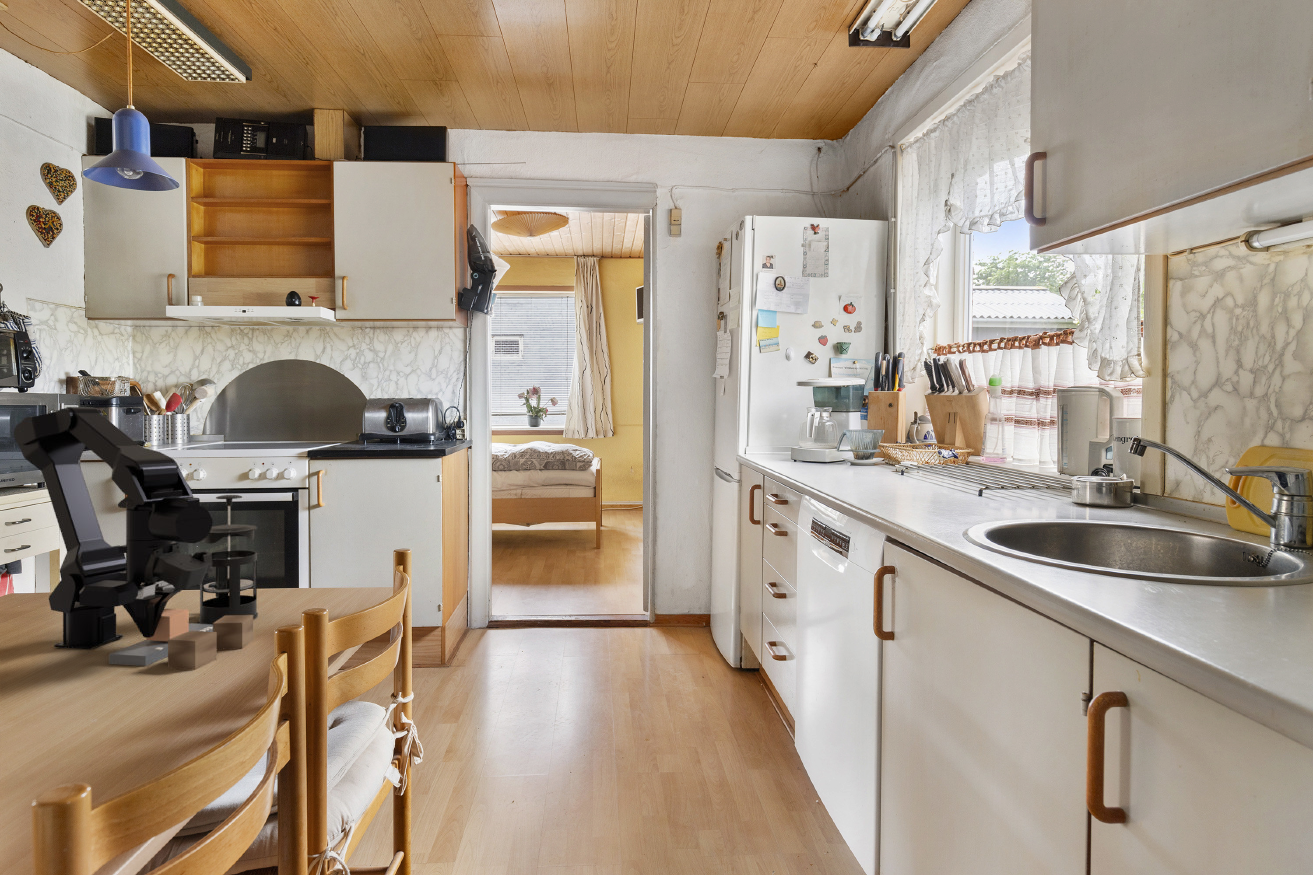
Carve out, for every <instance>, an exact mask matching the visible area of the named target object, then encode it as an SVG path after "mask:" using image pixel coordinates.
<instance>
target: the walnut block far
mask: <svg viewBox="0 0 1313 875" xmlns="http://www.w3.org/2000/svg"><path fill="white" fill-rule="evenodd" d="M213 632H217V651H218V650H243V649H244V648H245V647H247V646H248V645H250V643H252V642H253V641H254V620H253V615H229V616H223V617H222V618H220V619H219V620H217V621H216V622H214V623H213Z"/></svg>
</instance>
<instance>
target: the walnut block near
mask: <svg viewBox="0 0 1313 875" xmlns="http://www.w3.org/2000/svg"><path fill="white" fill-rule="evenodd" d="M217 651H218V650H217V632H204V631H188V632H186V633H183V634H181V635H178V636H176V637H173V638H171V639H168V657H167V669H177V670H179V669H180V670H192V671H195V670H196V671H197V670H198V669H200V668H202V667H204V666H206V665H208V664H211V663H212V662H215V661H217V653H218V652H217Z"/></svg>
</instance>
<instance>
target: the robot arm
mask: <svg viewBox="0 0 1313 875" xmlns="http://www.w3.org/2000/svg"><path fill="white" fill-rule="evenodd" d="M13 437H14V441H15V442H16V444H17V445H18V448H19V449H20V452H21V454H22V456H23V458H24V459H25V460H26V461H27V462H29V463H30V464H32V465H33V466H34V467H35V468H37V469H38V470H39V471H41V474H42V477H43V479H44V482H45V486H46V490H47V492H48V496H49V498H50V503H51V506H52V508H53V511H54V514H55V518H56V521H57V524H58V528H59V530H60V534H61V537H62V540H63V543H64V546H65V550H66V553H65V556H64V559H63V562H62V563H61V565H60V568H59V575H60V581H59V582H58V584H57V585H56V586H55V588H54V589H53V591H52V592H51V593H50V595H49V596H48V601H49V607H50V610H51V611H53V612H59V613H62V639H63V640H62V641H59V642H56V643H54V644H53V648H59V649H60V648H61V649H76V650H92V649H95V648H98V647H100V646H103V645H106V644H109V643H111V642H114V641H117V640H119V639H122V638H123V637H124V636H123V634H121V633H120V634H119V633H117V613H116V611H115V607H120V606H122V607H123V608H124V610H126V613H128V615H129V616H130V618H131V619H132V620H133V622H134V624H135V625H136V628H137V629H138V630H139V632H140V633H141V635H142V637H143V638H150V637H152V636H154V634H155V631H156V629H157V626H158V623H159V621H160V618H161V616H162V613H163V611H164V609H166V606H167V603H168V602H169V600H170V599H172V598H174V596H175V595H176V594H179V593H181V592H182V590H187V589H189V588H190V587H194V586H196V585H197V586H200V584H202V581H203V582H204V581H205V580H208V579H209V574H210V573H212V572H213V567H212V564H213V562H212V554H211V553H212V552H209V551H206V550H200V551H197V552H195V553H194V554H193V555H192V554H191V553H190V554H183V553H181V552H180V545H179V543H184V544H185V543H186V544H197V543H200V542H201V541H202V542H203V539H205V538H206V537H207V535H208V534H209V532H210V531H211V528H212V527H213V522H214V521H213V518H212V517H211V514H210V512H209V510H207V508H205V507H204V506H202V505H201V501H200V500H201V499H200V497H194V494H193V492H192V487H191V486H190V485H189V483H188V482H187V480H186V479H185V477H184V474H183V473H182V471H181V469H180V467H179V465H178V463H177V461H176V460H175V459H174V458H173V457H170V456H169V455H167V454H166V453H162V452H161V451H158V450H154V449H150V448H146V447H143V446H141V445H139V444H138V443H137V442H136V441H135V440H133V439H132V438H130V436H128V435H127V434H126V433H125V432H123V430H121V429H120V428H118V427H117V426H116V425H115V424H113V423H112V422H111V421H110V420H108V419H107V417H105V416H104V413H103V412H102V410H101V409H100V408H95V407H93V406H92V407H91V406H90V407H88V406H86V407H84V406H79V407H78V406H67V407H65V408H61V409H59V410H56V411H55V412H54V411H53V412H48V413H45V414H40V415H36V416H26V417H24V418H23V419H22V420H21V421H20V423H18V424H16V425H15V427H14V431H13ZM85 448H88V449H89V450H90V451H91V452H93V453H94V454H95V455H96V456H97V457H98V458H100V460H102V461H103V462H104V463H106V464H107V465H108V466H109V467H110V469H111V480H112V481H113V483H114V484H115V485H116V486H117V487H118V489H119V490H120V491H121V492H122V493H123V494H124V495H126V497H124V498H123V499H121V500H120V501H119V502H118V503H117V507H118V508H121V509H125V510H126V511H125V515H126V516H125V544H123V545H114V546H113V545H110V544H109V543H108V542H107V541H106V540H105V539H104V535H103V532H102V529H101V526H100V524H99V520H98V517H97V514H96V511H95V508H94V505H93V502H92V499H91V495H90V493H89V489H88V486H87V483H86V480H85V477H84V474H83V472H82V468H81V465H80V459H81V457H82V455H83V454H84V451H85Z"/></svg>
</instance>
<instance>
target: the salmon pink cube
mask: <svg viewBox="0 0 1313 875" xmlns="http://www.w3.org/2000/svg"><path fill="white" fill-rule="evenodd" d="M189 611H190V609H182V608H164V611H163V613H162V616H161V618H160V621H159V623H158V626H157V629H156V631H155V634H154V636H152V637H150V638H146V639H145V640H152V641H168V639H171V638H173V637H176V636H178V635H181V634H183V633H186V632H188V631H189V623H190V621H189V617H190V616H189V614H190V613H189Z"/></svg>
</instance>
